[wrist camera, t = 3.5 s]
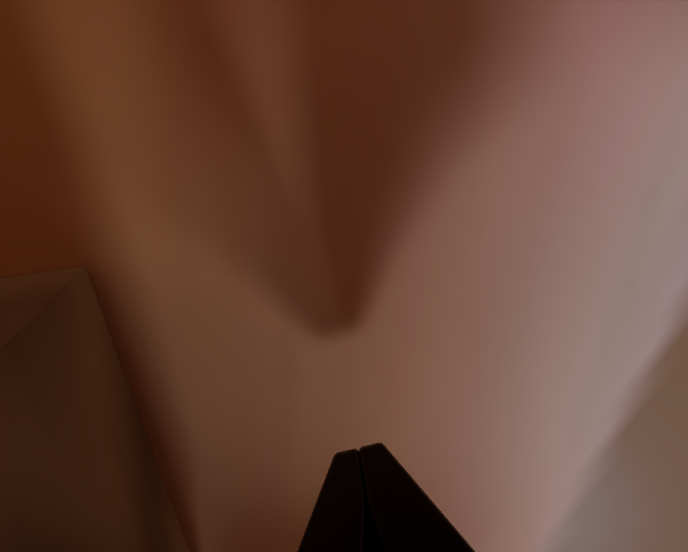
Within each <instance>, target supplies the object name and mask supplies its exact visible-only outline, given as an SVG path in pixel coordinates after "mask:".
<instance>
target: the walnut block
mask: <svg viewBox="0 0 688 552" xmlns="http://www.w3.org/2000/svg"><path fill="white" fill-rule="evenodd" d="M0 552H189V549H188V546H187V544H186V541H185V538H184V535H183V533H182V530H181V527H180V525H179V522H178V519H177V516H176V514H175V511H174V508H173V505H172V503H171V500H170V497H169V494H168V492H167V489H166V486H165V483H164V481H163V478H162V475H161V472H160V470H159V467H158V464H157V462H156V459H155V456H154V453H153V451H152V448H151V445H150V442H149V440H148V437H147V434H146V431H145V429H144V426H143V423H142V420H141V418H140V415H139V412H138V409H137V407H136V404H135V401H134V399H133V396H132V393H131V390H130V388H129V385H128V382H127V379H126V377H125V374H124V371H123V368H122V366H121V363H120V360H119V357H118V355H117V352H116V349H115V346H114V344H113V341H112V338H111V336H110V333H109V330H108V327H107V325H106V322H105V319H104V316H103V314H102V311H101V308H100V305H99V303H98V300H97V297H96V294H95V292H94V289H93V286H92V283H91V281H90V278H89V275H88V273H87V270H86V267H85V265H84V266H78V267H71V268H64V269H58V270H51V271H44V272H38V273H31V274H24V275H17V276H11V277H4V278H0Z"/></svg>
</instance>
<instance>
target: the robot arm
mask: <svg viewBox="0 0 688 552" xmlns="http://www.w3.org/2000/svg"><path fill="white" fill-rule="evenodd" d="M297 552H475V551H474V550H473V549H472V547H471V546H470V545H469V544H468V543H467V542H466V540H465V539H464V538H463V537H462V536H461V535H460V533H459V532H458V531H457V530H456V529H455V528H454V526H453V525H452V524H451V523H450V522H449V520H448V519H447V518H446V517H445V516H444V515H443V513H442V512H441V511H440V510H439V509H438V508H437V506H436V505H435V504H434V503H433V502H432V501H431V499H430V498H429V497H428V496H427V495H426V494H425V492H424V491H423V490H422V489H421V488H420V487H419V485H418V484H417V483H416V482H415V481H414V480H413V478H412V477H411V476H410V475H409V474H408V473H407V471H406V470H405V469H404V468H403V467H402V466H401V464H400V463H399V462H398V461H397V460H396V459H395V457H394V456H393V455H392V454H391V453H390V452H389V450H388V449H387V448H386V447H385V446H384V445H383V444H382V443H375V444H371V445H367V446H363V447H361V448H360V450H359V451H358V450H357V449H351V450H347V451H342V452H338V453H336V454H335V455H334V457H333V460H332V462H331V465H330V468H329V470H328V473H327V475H326V478H325V481H324V483H323V486H322V488H321V491H320V494H319V496H318V499H317V502H316V504H315V507H314V509H313V512H312V515H311V517H310V520H309V522H308V525H307V528H306V530H305V533H304V536H303V538H302V541H301V543H300V546H299V549H298V551H297Z"/></svg>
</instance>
